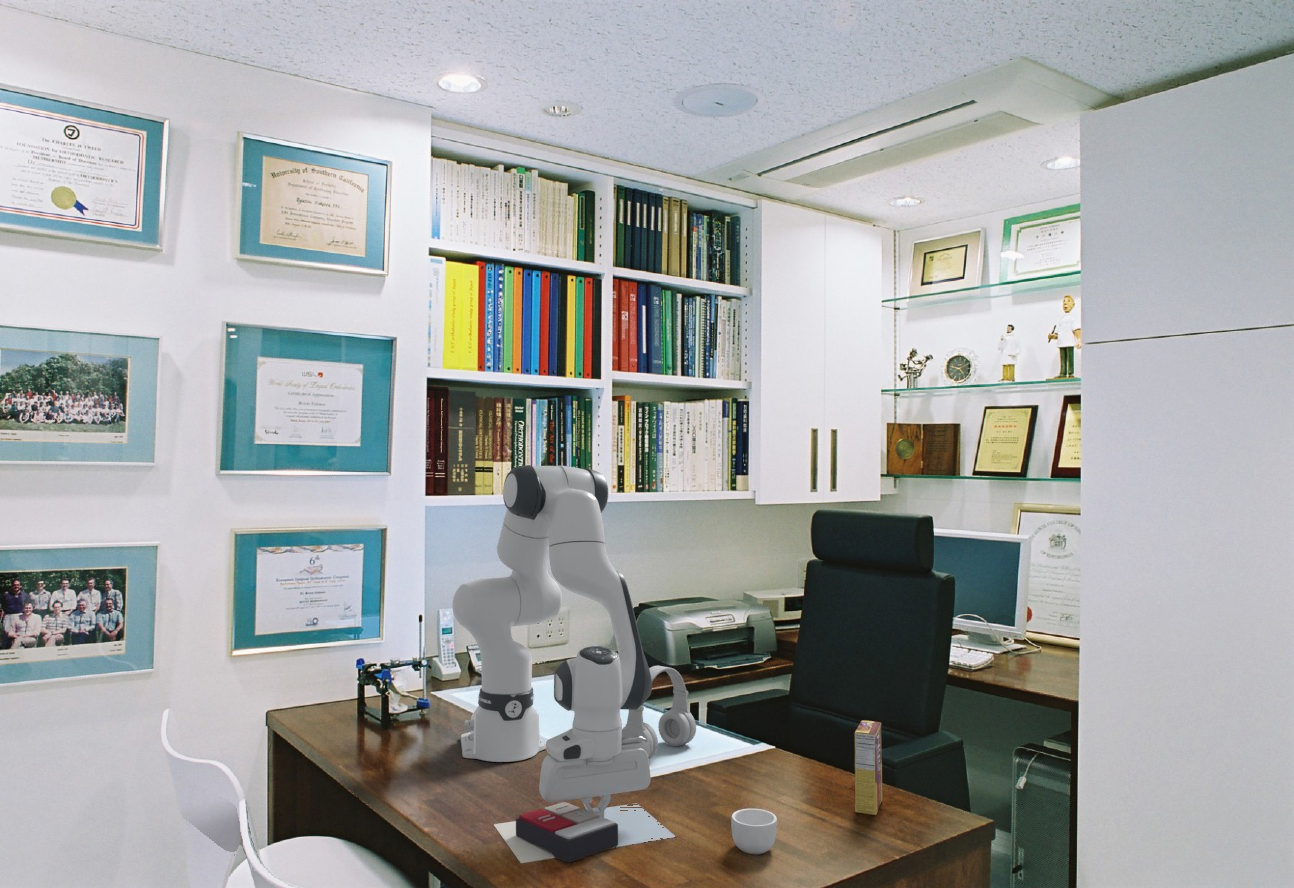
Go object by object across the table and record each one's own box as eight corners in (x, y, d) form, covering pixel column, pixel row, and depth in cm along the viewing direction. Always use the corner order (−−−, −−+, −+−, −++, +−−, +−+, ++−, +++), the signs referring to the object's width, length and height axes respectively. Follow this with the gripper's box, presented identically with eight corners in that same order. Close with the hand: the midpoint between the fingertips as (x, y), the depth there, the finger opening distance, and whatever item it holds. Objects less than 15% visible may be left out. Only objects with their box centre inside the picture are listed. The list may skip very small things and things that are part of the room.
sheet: (493, 825, 163) (493, 824, 163) (636, 804, 175) (636, 803, 175) (521, 863, 148) (521, 862, 148) (676, 837, 159) (676, 836, 159)
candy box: (860, 796, 181) (861, 719, 181) (882, 800, 179) (883, 721, 180) (852, 812, 173) (854, 730, 173) (876, 815, 171) (877, 733, 171)
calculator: (564, 798, 166) (619, 819, 155) (565, 823, 166) (619, 845, 155) (514, 813, 159) (567, 836, 148) (514, 839, 158) (568, 863, 147)
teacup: (766, 862, 150) (767, 829, 150) (723, 852, 154) (724, 820, 154) (787, 840, 159) (787, 809, 159) (745, 831, 162) (746, 801, 163)
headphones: (667, 739, 217) (669, 657, 217) (697, 746, 212) (699, 662, 212) (615, 760, 200) (617, 671, 201) (647, 768, 195) (648, 677, 196)
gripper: (642, 730, 170) (640, 805, 169) (537, 742, 161) (535, 821, 161) (657, 739, 164) (655, 817, 164) (548, 752, 155) (547, 834, 155)
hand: (595, 819), depth 162 cm, fingers closed
